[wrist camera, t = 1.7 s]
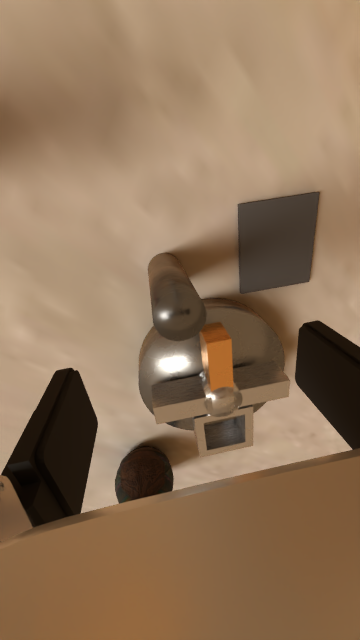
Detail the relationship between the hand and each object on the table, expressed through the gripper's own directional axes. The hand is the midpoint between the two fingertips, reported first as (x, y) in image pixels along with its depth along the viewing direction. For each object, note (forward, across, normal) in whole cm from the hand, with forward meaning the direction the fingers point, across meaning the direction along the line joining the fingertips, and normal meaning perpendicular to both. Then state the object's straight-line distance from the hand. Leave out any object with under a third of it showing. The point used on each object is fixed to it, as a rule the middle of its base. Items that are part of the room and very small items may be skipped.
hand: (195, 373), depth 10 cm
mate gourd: (+15, +7, +24) cm, 29 cm away
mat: (+14, -10, -2) cm, 18 cm away
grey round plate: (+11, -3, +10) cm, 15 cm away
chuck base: (+14, -3, +10) cm, 18 cm away
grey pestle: (+14, 0, -1) cm, 14 cm away
